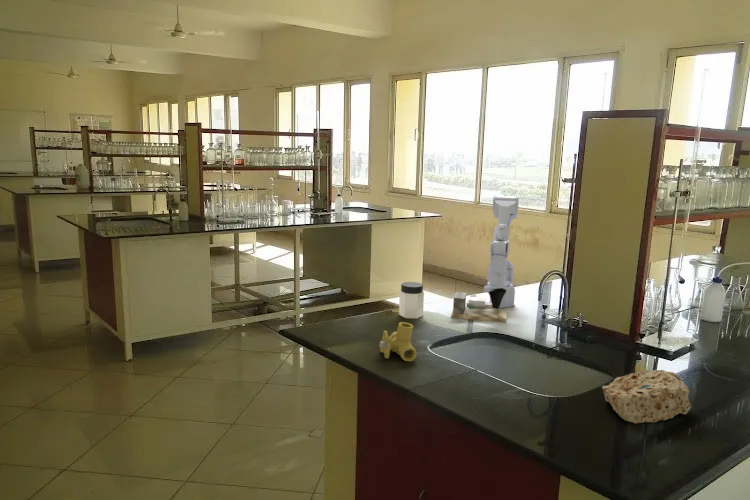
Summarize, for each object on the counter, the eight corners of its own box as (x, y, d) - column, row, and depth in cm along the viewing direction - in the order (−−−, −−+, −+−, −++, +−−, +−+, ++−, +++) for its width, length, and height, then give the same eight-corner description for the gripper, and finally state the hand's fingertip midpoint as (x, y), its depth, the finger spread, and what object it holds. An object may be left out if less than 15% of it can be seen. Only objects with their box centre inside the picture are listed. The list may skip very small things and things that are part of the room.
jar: (423, 312, 214) (424, 282, 211) (422, 319, 206) (424, 287, 203) (399, 311, 214) (400, 281, 212) (398, 318, 206) (399, 286, 204)
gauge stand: (505, 313, 216) (507, 295, 214) (506, 322, 204) (507, 303, 203) (453, 308, 220) (454, 290, 219) (451, 317, 208) (452, 298, 207)
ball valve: (402, 348, 177) (372, 347, 174) (408, 318, 175) (378, 316, 172) (416, 366, 166) (384, 364, 162) (422, 333, 163) (390, 331, 160)
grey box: (484, 310, 214) (485, 297, 213) (484, 316, 206) (484, 303, 205) (468, 309, 215) (469, 296, 214) (467, 315, 207) (468, 302, 206)
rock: (640, 434, 127) (633, 390, 127) (596, 419, 141) (590, 380, 141) (708, 412, 134) (701, 371, 134) (660, 400, 148) (654, 363, 148)
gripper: (500, 268, 215) (497, 302, 218) (477, 273, 206) (475, 309, 208) (516, 271, 210) (513, 306, 213) (493, 276, 201) (491, 313, 203)
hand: (495, 307), depth 210 cm, fingers closed
